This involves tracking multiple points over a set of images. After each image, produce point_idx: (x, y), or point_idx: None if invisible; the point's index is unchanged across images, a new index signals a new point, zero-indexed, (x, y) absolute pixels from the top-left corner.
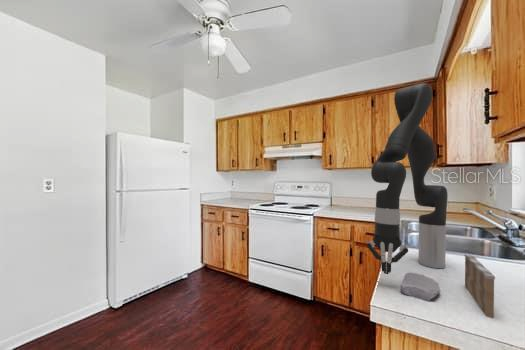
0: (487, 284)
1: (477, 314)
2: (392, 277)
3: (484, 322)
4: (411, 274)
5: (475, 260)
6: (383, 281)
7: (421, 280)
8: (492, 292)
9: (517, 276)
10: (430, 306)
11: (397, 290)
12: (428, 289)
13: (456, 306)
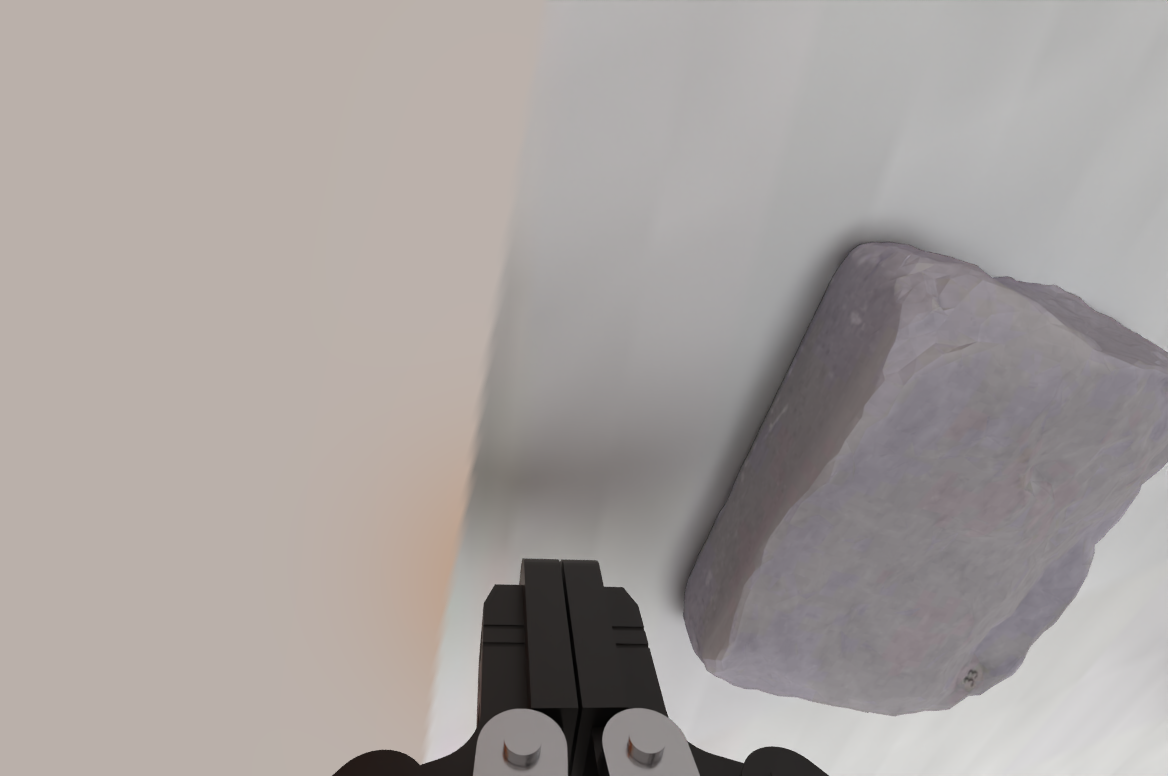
0: None
1: (1154, 680)
2: (678, 145)
3: (1116, 755)
4: (951, 439)
5: None
6: (521, 370)
7: (1004, 527)
8: None
9: None
10: (856, 712)
11: (654, 551)
12: (968, 649)
13: (1078, 630)
